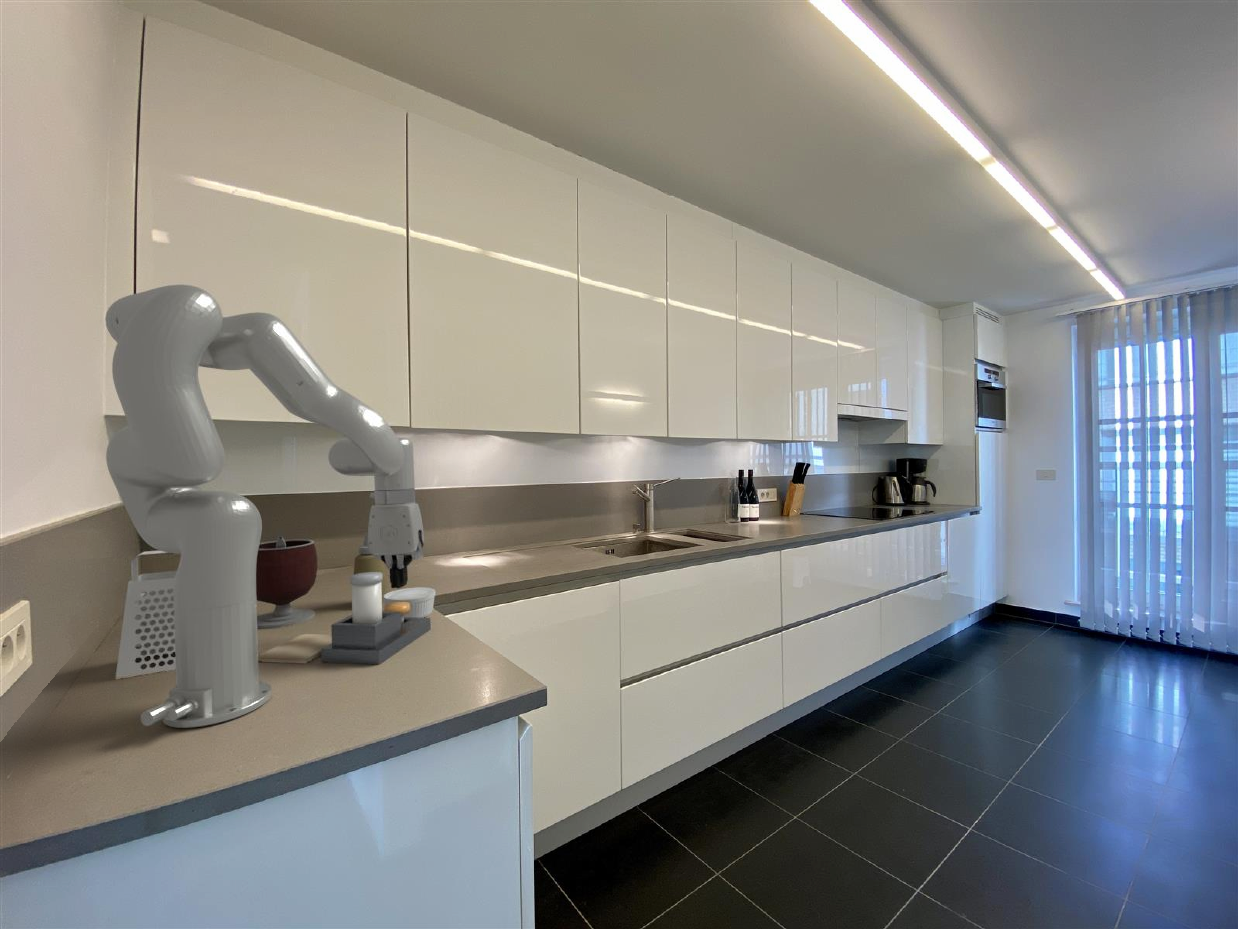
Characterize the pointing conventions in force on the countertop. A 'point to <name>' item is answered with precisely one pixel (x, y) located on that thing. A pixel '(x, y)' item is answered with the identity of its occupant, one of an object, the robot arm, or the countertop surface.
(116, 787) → the countertop surface
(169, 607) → the grater
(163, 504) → the robot arm
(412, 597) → the ramekin
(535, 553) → the countertop surface
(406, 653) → the countertop surface
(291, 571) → the mate gourd
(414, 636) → the housing
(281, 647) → the mat
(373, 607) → the cylinder
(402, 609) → the orange rounded lump
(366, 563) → the squeeze bottle
